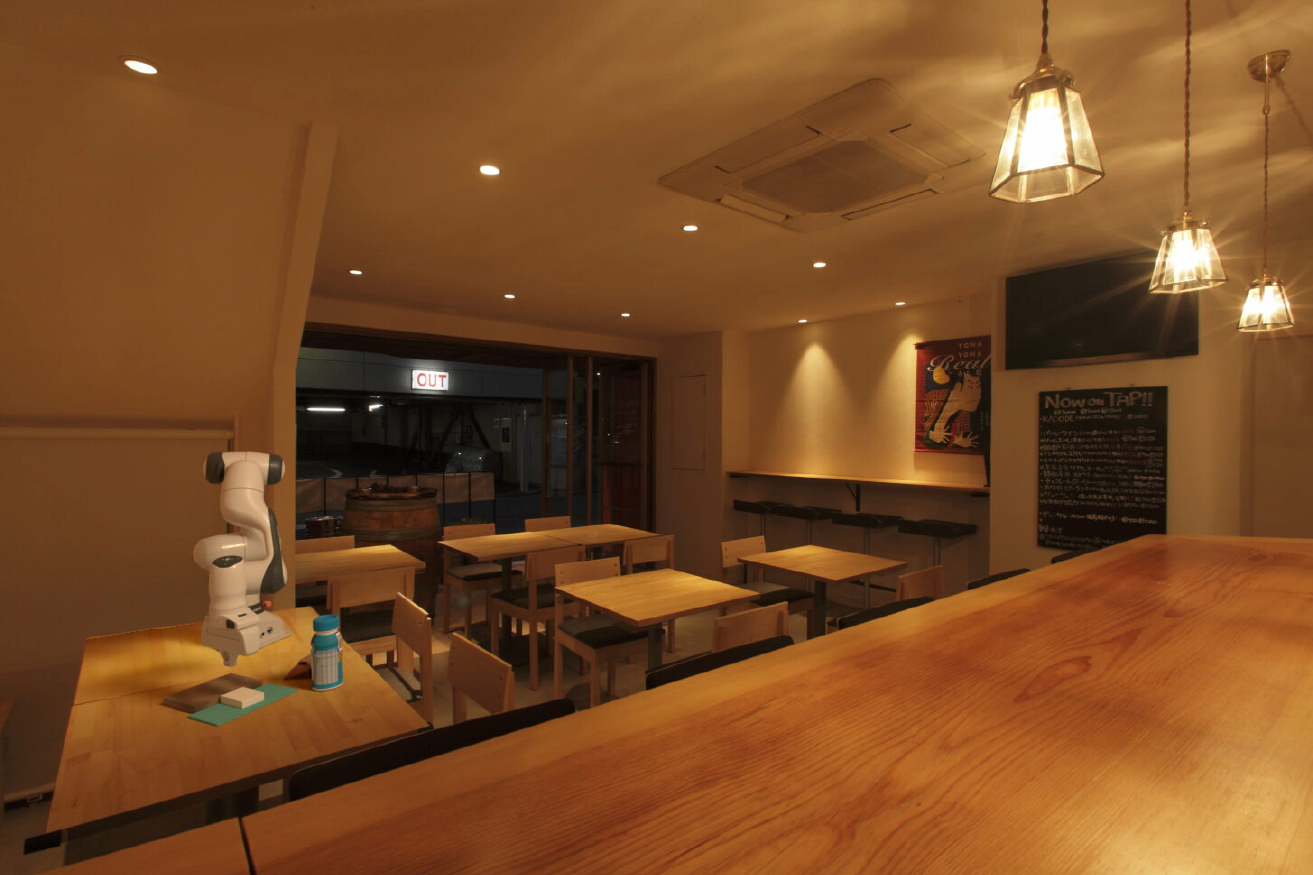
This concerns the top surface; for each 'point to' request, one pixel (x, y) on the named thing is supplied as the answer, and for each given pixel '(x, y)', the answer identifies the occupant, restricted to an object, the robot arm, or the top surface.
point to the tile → (242, 697)
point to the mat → (227, 713)
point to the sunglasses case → (301, 670)
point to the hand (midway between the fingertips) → (230, 665)
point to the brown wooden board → (209, 692)
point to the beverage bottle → (326, 653)
